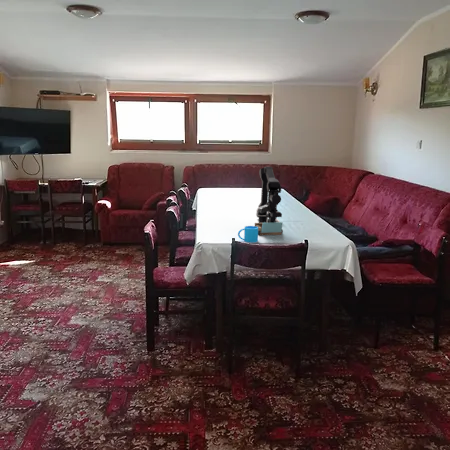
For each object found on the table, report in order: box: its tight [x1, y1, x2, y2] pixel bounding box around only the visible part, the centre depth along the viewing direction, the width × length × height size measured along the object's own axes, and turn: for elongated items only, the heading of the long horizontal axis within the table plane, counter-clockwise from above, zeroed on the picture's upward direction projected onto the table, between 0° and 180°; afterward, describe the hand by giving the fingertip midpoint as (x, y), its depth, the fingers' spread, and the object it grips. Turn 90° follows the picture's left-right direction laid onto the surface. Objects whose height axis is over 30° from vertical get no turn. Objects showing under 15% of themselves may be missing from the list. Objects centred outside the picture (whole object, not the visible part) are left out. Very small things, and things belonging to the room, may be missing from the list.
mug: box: [237, 225, 259, 243], centre depth 247 cm, size 12×8×8 cm
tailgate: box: [261, 221, 283, 233], centre depth 261 cm, size 1×14×7 cm, turn 105°
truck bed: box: [254, 222, 284, 236], centre depth 268 cm, size 12×16×6 cm
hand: (271, 225), depth 262 cm, fingers closed
